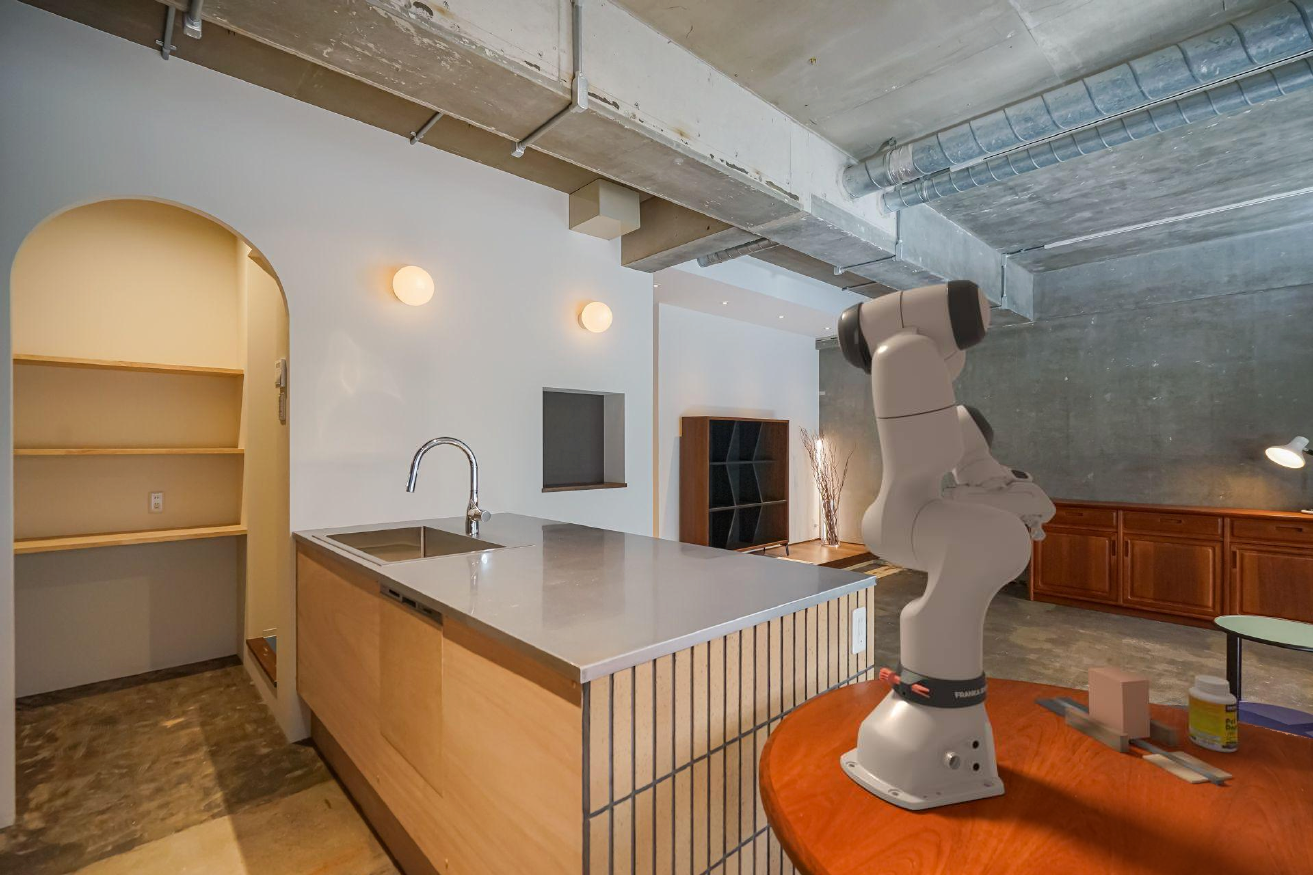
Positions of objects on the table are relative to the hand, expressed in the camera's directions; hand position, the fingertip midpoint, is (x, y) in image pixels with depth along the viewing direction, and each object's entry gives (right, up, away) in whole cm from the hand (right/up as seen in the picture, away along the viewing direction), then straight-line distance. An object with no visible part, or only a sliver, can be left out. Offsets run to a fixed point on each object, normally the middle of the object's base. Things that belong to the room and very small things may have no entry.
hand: (1023, 539), depth 113 cm
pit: (+5, -29, -5) cm, 30 cm away
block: (+6, -29, -15) cm, 33 cm away
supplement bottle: (+18, -29, -19) cm, 39 cm away
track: (+6, -29, -15) cm, 33 cm away
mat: (+8, -29, -25) cm, 39 cm away
